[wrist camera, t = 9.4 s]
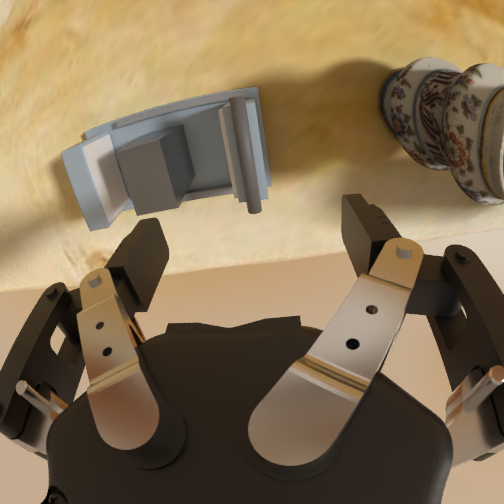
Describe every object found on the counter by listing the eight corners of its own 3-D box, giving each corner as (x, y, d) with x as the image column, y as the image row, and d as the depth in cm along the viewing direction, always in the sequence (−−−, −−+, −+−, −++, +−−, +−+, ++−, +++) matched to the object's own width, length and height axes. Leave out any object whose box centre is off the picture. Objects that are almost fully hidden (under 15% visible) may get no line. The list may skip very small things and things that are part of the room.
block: (162, 182, 29) (137, 215, 23) (148, 133, 26) (115, 152, 19) (195, 175, 29) (178, 207, 22) (183, 123, 26) (159, 139, 19)
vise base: (115, 208, 32) (90, 238, 26) (89, 129, 26) (55, 146, 20) (270, 182, 31) (275, 210, 25) (257, 86, 24) (259, 87, 19)
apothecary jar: (454, 146, 27) (553, 212, 12) (379, 161, 29) (473, 247, 14) (441, 57, 20) (559, 77, 5) (357, 61, 22) (471, 59, 8)
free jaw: (239, 185, 30) (235, 216, 24) (223, 96, 24) (213, 101, 18) (266, 182, 30) (270, 212, 24) (253, 91, 24) (253, 94, 18)
